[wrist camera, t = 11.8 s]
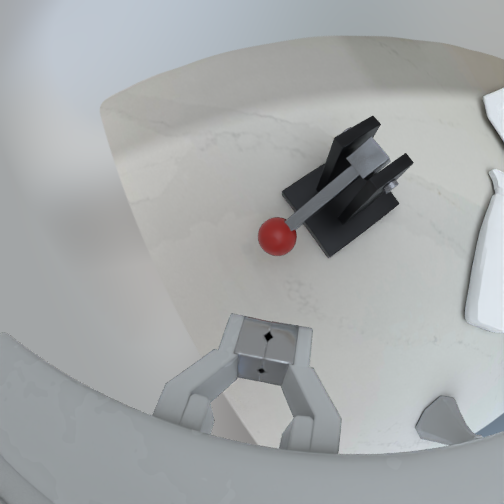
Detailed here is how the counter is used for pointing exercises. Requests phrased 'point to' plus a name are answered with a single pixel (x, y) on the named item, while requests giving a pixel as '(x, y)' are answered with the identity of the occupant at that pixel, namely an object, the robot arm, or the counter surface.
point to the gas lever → (322, 198)
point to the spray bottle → (489, 266)
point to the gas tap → (347, 192)
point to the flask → (444, 423)
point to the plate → (495, 110)
